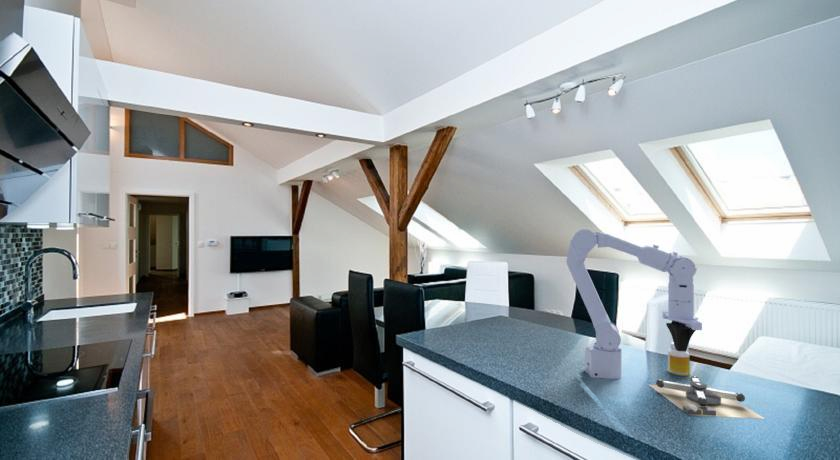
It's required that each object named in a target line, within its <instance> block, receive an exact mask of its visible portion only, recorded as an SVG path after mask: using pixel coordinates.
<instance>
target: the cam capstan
mask: <svg viewBox="0 0 840 460" xmlns="http://www.w3.org/2000/svg"><path fill="white" fill-rule="evenodd" d="M689 380H690V382H689V384H688V383H687V384H686V383H680V382H676V381H675V382H674V381H669V380H663V379H659V378H658V379H657V380H656V381H655V385H657V386H658V387H660V388H668V389H674V390H679V391H685V392H686V397H687V398H688V399H689V400H691V401H693V402H696V403H698V404H699V405H700V406H703V407H705V406H707V405H709V406H718V405H721V398H725V399H730V400H734V401H736V402H738V403H739V402H740V403H742V402H744V401H745V399H746V397H745V395H744V394H743V393H741V392H734V391H729V390H728V391H727V390H722V389H717V388H713V389H711V388H707V387H708V385H707V384H706V383H705V382H703V381H700V378H699V377H698V376H696V375H693V376H691V377H690V379H689Z"/></svg>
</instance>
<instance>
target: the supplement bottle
mask: <svg viewBox="0 0 840 460" xmlns="http://www.w3.org/2000/svg"><path fill="white" fill-rule="evenodd" d="M690 361H691V359H690V353H689V352H688V351H687V350H686V351H677V350H676V349H675V345H674V342H673V341H671V342H670V348H669V349H668V351H667V372H669V373H670V374H672V375H675V376H683V377H684V376H685V377H686V376H687V377H688V376H690V375H691V374H690V372H691V371H690V370H691V369H690V365H691V364H690Z"/></svg>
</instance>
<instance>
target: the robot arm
mask: <svg viewBox="0 0 840 460" xmlns="http://www.w3.org/2000/svg"><path fill="white" fill-rule="evenodd" d="M596 245H597V248H598V249H600V248H610V249H611V248H612V249H613V250H616V251H619V252H623V253H625V254H628V255H631V256H634V257H636V258H637V260H638V261H639V263H640V264H641V265H644V266H647V267H649V268H652V269H655V270H657V271H660V272H662V273H666V272H667V273H668V281H669V282H668V287H667V288H668V299H667V300H668V301H667V302H668V303H667V304H668V307H667V308H668V310H667V311H662V319H665V320H666V319H667V320H668V321H669V320H670V321H671V322H666V324H665V325H666V327H667V329H668V330H669V331H668V332H669V333H670V334H671V338H672V340H673V341H672V342H674V345H675V349H676V350H677V351H687V350H688V347H689V343H690V341H691V339H692V336H693V335H694V333H695V332H696V331H703V322H701V321H699V317H697V316H695V313H694V312H695V311H694V310H695V309H694V308H695V307H694V304H695V303H694V302H695V299H694V296H695V295H694V293H695V290H694V289H695V287H694V276H695V274H696V273H697V269H698V268H697V267H696V264H695V262H693V260H692V259H690V258H688V257H684V256H682V255H678V252H675V251H673V252H671V251H667V250H665V249H662V248H660V246H659V245H657V244H653V245H651V244H646V245H644V246H641V245H640V246H639V245H637V244H635V243H633V242H629V241H628V240H625V239H622V238H619V237H617V236H614V235H611V234H609V233H606V232H601V231H592V230H590V229H588V228H582V229H579V230H577V232H575V233H574V235H573V236H572V238H571V240H570V242H569V248H568V252H567V256H566V261H565V262H566V265H567V268H568V270H569V272H570V273H571V274H570V275H571V276H572V279H573V281H574V283H575V285H576V287H577V291H578V293H579V294H580V297H581V299H582V301H583V303H584V306H585V308H586V310H587V313H588V315H589V317H590V319H591V322H592V325H593V328H594V330H595V340H596V341H595V342H594V343H593V346H587V347H586V348H585V350H584V371H585V372H586V373H587V375H589V376H590V377H591V378H598V379H599V378H600V379H601V378H602V379H609V380H618V379H621V378H622V346H621V342H622V341H621V339H622V338H621V336H620V334H619V333H620V332H619V329H618V327H617V326H616V324H615V323H613V322H612V321H611V319H610V317H609V315H608V313H607V311H606V309H605V307H604V304H603V302H602V299H600V296H599V293H598V291H597V289H596V287H595V285H594V282H593V280H592V278H591V276H590V274H589V272H588V269H587V267H586V266H585V261H586V258H587V257H588V255H589V253H590V252H591V251H592V250H593V249H594V248H595V246H596Z"/></svg>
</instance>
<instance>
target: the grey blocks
mask: <svg viewBox="0 0 840 460" xmlns="http://www.w3.org/2000/svg"><path fill="white" fill-rule="evenodd" d="M682 411H683V412H684V413H685V412H686V413H685V414H687V415H688V414H698V415H716V411H715V410H714V409H712V408H711V407H698V406H695V405H690V406H683V410H682Z"/></svg>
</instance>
